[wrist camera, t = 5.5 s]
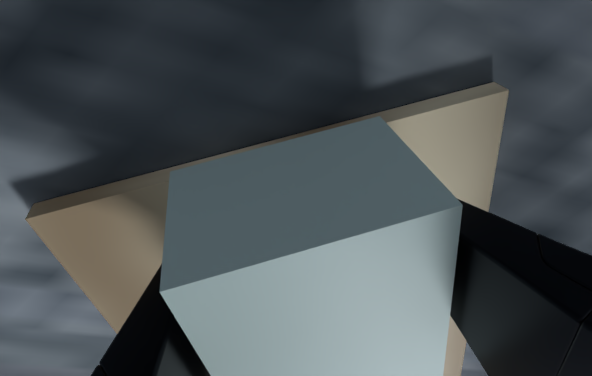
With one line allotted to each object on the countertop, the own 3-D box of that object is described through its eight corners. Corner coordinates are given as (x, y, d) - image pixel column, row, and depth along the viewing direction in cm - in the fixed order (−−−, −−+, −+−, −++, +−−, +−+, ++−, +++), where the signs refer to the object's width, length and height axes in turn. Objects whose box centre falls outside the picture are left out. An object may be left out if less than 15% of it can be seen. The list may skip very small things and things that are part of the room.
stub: (379, 116, 9) (463, 205, 6) (387, 279, 13) (442, 382, 10) (169, 171, 9) (159, 292, 6) (238, 323, 12) (252, 444, 10)
